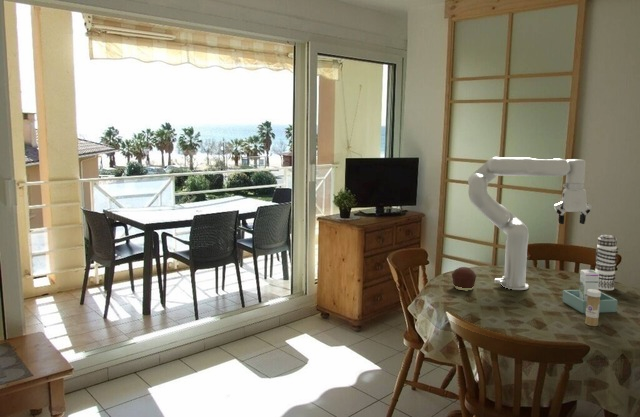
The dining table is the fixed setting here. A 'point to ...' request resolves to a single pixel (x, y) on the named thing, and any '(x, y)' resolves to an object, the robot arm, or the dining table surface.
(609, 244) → the decorative candle
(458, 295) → the dining table surface
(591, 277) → the syrup box
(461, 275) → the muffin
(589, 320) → the sprinkles bottle
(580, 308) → the tote
